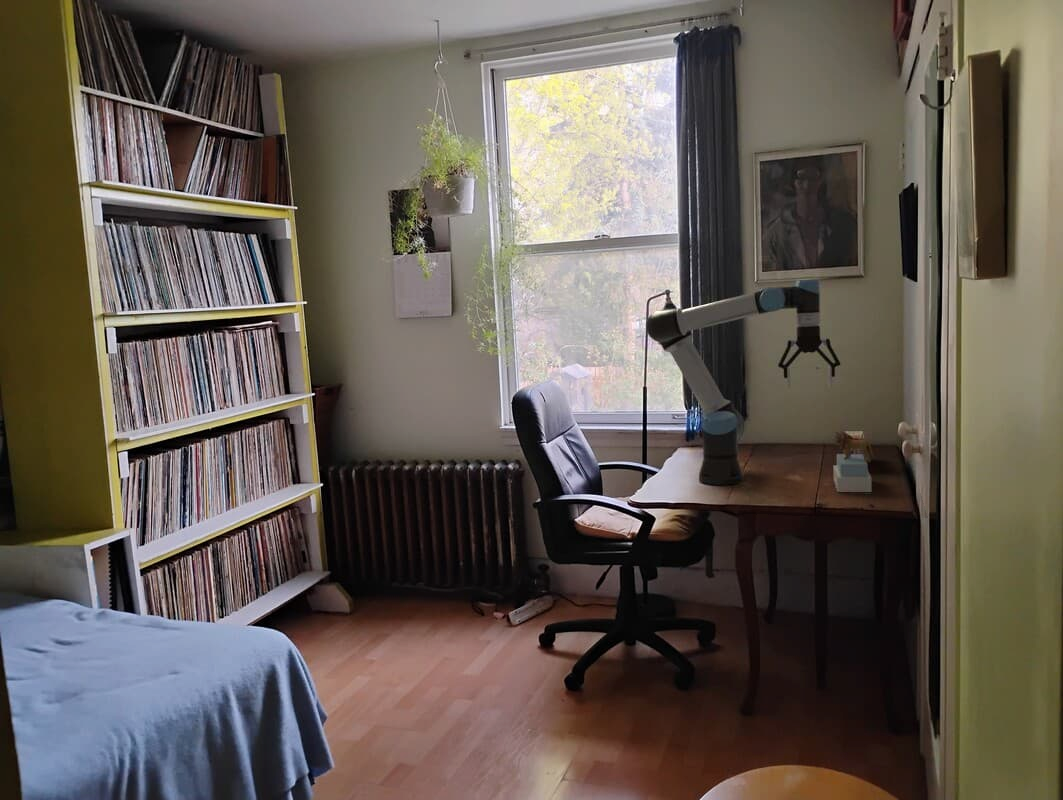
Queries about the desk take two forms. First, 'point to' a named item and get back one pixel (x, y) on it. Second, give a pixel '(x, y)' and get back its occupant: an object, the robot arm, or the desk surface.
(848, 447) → the lion figurine
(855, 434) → the stack of blocks
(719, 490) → the desk surface
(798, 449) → the desk surface
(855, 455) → the two-tone layered slab
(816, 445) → the desk surface
